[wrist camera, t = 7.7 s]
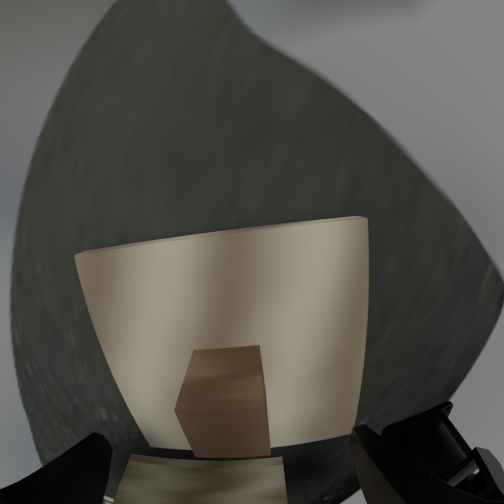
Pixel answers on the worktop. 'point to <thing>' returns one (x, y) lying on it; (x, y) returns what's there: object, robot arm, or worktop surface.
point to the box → (202, 481)
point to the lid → (236, 333)
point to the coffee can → (108, 500)
